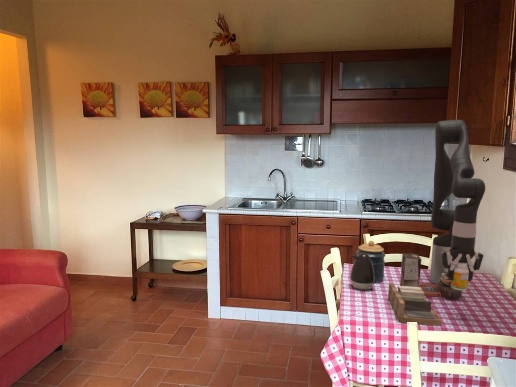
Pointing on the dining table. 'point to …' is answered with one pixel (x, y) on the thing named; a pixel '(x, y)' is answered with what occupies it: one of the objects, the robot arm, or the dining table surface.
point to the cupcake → (447, 288)
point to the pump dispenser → (362, 272)
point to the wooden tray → (412, 305)
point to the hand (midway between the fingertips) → (459, 279)
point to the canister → (374, 258)
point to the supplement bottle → (460, 276)
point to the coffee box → (410, 270)
